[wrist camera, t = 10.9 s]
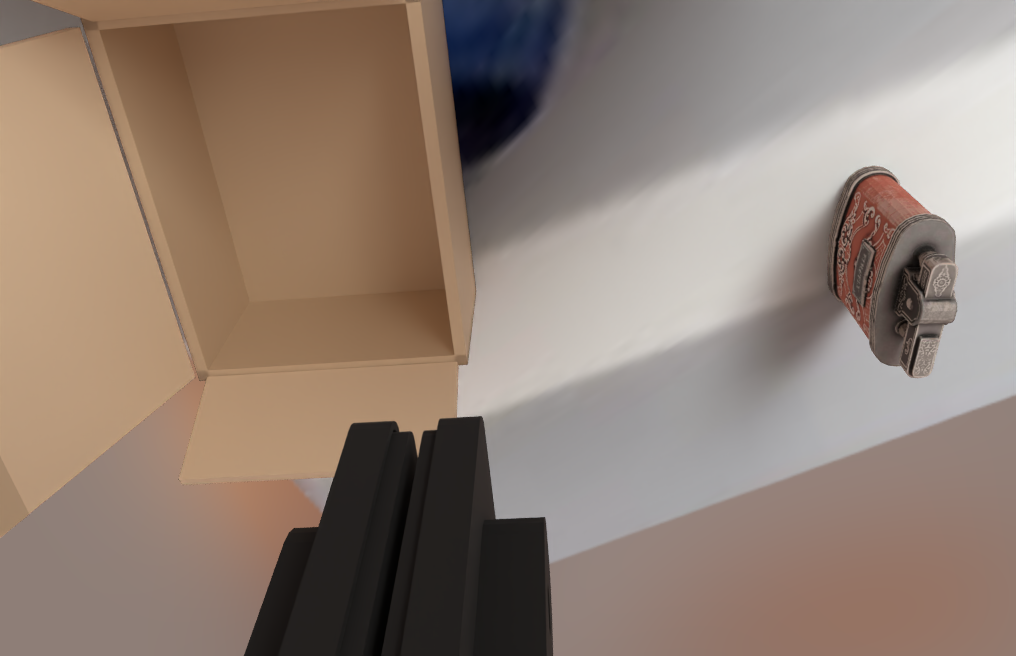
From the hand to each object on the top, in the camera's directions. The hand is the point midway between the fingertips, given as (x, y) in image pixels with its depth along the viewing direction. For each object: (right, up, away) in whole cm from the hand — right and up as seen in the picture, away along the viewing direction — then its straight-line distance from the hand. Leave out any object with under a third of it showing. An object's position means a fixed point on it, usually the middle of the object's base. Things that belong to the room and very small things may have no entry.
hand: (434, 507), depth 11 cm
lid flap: (-18, +4, +22) cm, 29 cm away
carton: (-9, +12, +34) cm, 37 cm away
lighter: (+21, +8, +36) cm, 42 cm away
